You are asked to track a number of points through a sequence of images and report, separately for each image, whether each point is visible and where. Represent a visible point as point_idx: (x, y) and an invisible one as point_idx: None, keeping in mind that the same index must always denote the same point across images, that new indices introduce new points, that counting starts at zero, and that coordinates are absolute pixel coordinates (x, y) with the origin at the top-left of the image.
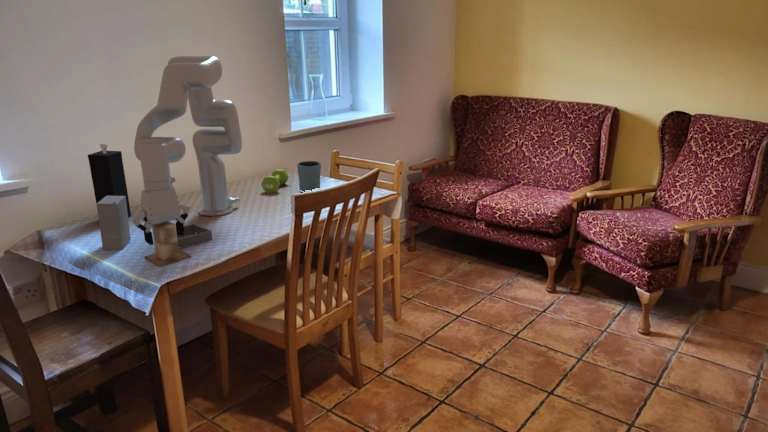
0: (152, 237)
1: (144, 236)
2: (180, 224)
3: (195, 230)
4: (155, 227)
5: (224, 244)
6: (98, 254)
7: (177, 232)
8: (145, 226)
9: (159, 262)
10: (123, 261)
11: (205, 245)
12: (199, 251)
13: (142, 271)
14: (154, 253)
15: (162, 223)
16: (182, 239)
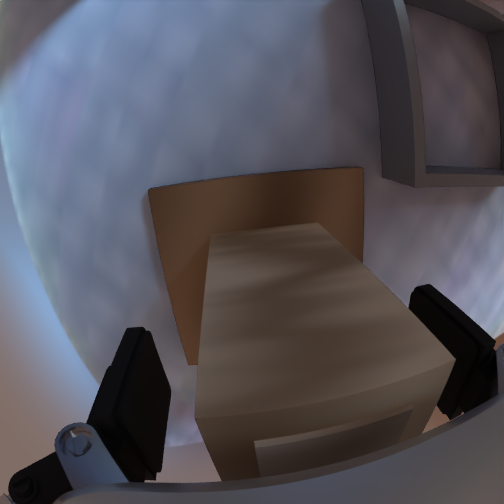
0: (165, 433)
1: (99, 394)
2: (451, 413)
3: (498, 44)
4: (218, 467)
5: (493, 271)
6: (13, 5)
7: (419, 310)
8: (97, 476)
9: (195, 340)
10: (48, 166)
11: (463, 229)
12: (413, 287)
13: (111, 355)
14: (216, 183)
15: (339, 451)
16: (428, 186)
